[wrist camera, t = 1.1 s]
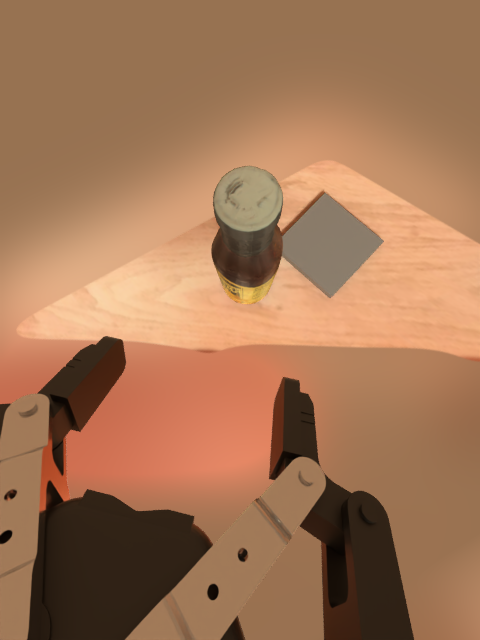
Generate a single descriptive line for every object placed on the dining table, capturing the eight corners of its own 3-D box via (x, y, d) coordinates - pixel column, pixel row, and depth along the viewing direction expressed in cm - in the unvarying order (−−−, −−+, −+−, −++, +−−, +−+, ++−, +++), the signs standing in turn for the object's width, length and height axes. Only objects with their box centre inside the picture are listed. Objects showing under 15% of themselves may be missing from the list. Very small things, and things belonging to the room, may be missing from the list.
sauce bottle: (217, 269, 35) (174, 157, 15) (261, 254, 35) (276, 123, 15) (233, 315, 34) (208, 259, 14) (278, 299, 34) (317, 222, 14)
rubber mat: (380, 244, 34) (384, 241, 33) (329, 298, 34) (332, 296, 33) (323, 197, 35) (325, 192, 34) (272, 248, 35) (273, 244, 34)
